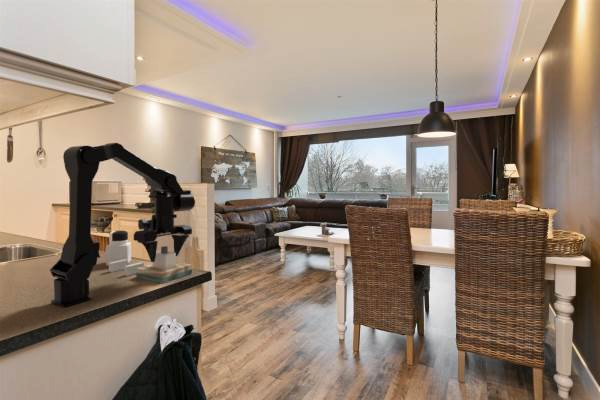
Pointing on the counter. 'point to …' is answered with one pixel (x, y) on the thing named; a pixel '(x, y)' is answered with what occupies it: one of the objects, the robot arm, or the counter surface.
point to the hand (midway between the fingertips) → (164, 258)
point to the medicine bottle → (118, 247)
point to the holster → (124, 267)
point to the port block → (163, 272)
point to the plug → (165, 259)
